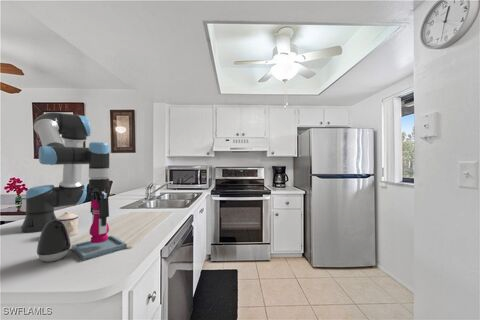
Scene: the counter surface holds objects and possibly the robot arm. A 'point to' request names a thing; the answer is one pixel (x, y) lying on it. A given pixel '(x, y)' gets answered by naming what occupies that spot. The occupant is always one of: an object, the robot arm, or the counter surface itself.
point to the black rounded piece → (53, 241)
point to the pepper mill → (97, 225)
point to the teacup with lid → (69, 222)
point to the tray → (98, 248)
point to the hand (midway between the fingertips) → (99, 231)
